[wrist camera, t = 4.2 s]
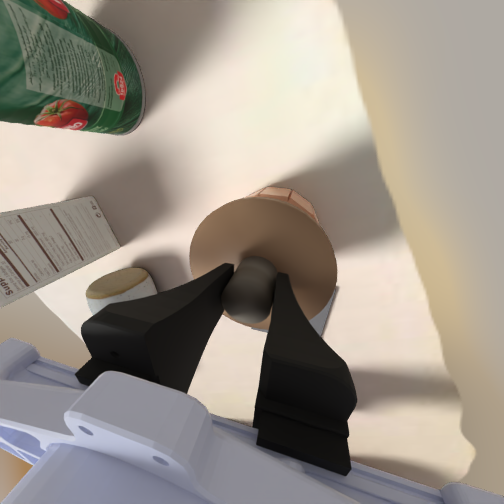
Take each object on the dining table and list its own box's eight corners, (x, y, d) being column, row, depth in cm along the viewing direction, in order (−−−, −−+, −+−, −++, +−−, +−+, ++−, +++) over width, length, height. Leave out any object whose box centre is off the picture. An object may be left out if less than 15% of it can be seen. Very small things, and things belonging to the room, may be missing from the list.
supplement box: (86, 253, 29) (-48, 313, 18) (56, 204, 26) (-126, 240, 15) (123, 248, 27) (-4, 313, 16) (94, 194, 24) (-86, 226, 13)
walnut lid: (317, 334, 15) (321, 384, 12) (199, 307, 17) (174, 344, 14) (355, 205, 11) (379, 227, 7) (189, 189, 12) (147, 200, 9)
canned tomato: (116, 5, 15) (-200, -250, 6) (160, 119, 18) (-1, 77, 9) (55, 53, 18) (-234, -69, 8) (102, 146, 21) (-71, 137, 11)
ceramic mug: (159, 263, 26) (108, 300, 20) (177, 310, 30) (138, 355, 23) (102, 263, 29) (41, 295, 23) (124, 306, 33) (77, 344, 26)
